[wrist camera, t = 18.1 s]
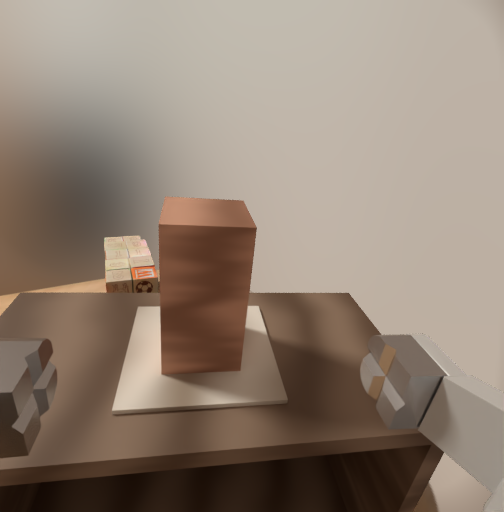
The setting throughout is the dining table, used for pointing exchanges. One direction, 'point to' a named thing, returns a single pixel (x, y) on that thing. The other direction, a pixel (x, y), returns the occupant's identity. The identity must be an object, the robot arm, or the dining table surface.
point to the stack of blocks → (129, 266)
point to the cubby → (210, 414)
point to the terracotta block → (204, 283)
